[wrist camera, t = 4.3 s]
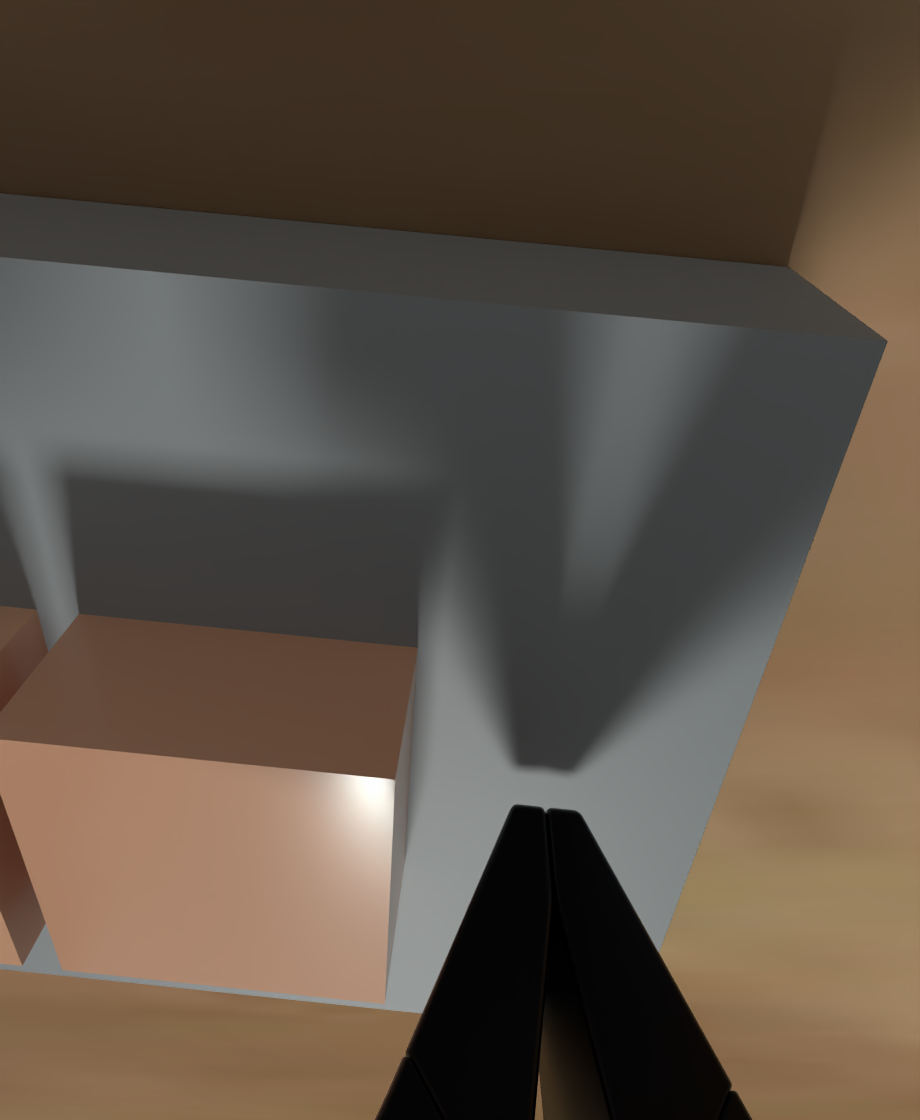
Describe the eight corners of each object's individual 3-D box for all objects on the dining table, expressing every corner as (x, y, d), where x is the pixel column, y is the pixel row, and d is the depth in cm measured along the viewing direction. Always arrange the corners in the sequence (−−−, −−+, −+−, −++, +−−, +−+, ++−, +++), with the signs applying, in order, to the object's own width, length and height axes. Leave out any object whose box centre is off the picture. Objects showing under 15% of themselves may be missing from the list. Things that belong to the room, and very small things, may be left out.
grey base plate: (610, 880, 16) (628, 1034, 13) (-69, 810, 16) (-178, 950, 14) (788, 267, 9) (886, 341, 7) (-349, 160, 10) (-658, 195, 7)
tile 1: (404, 863, 11) (385, 1004, 10) (130, 835, 11) (62, 970, 10) (418, 648, 9) (394, 779, 7) (79, 613, 9) (-20, 737, 8)
